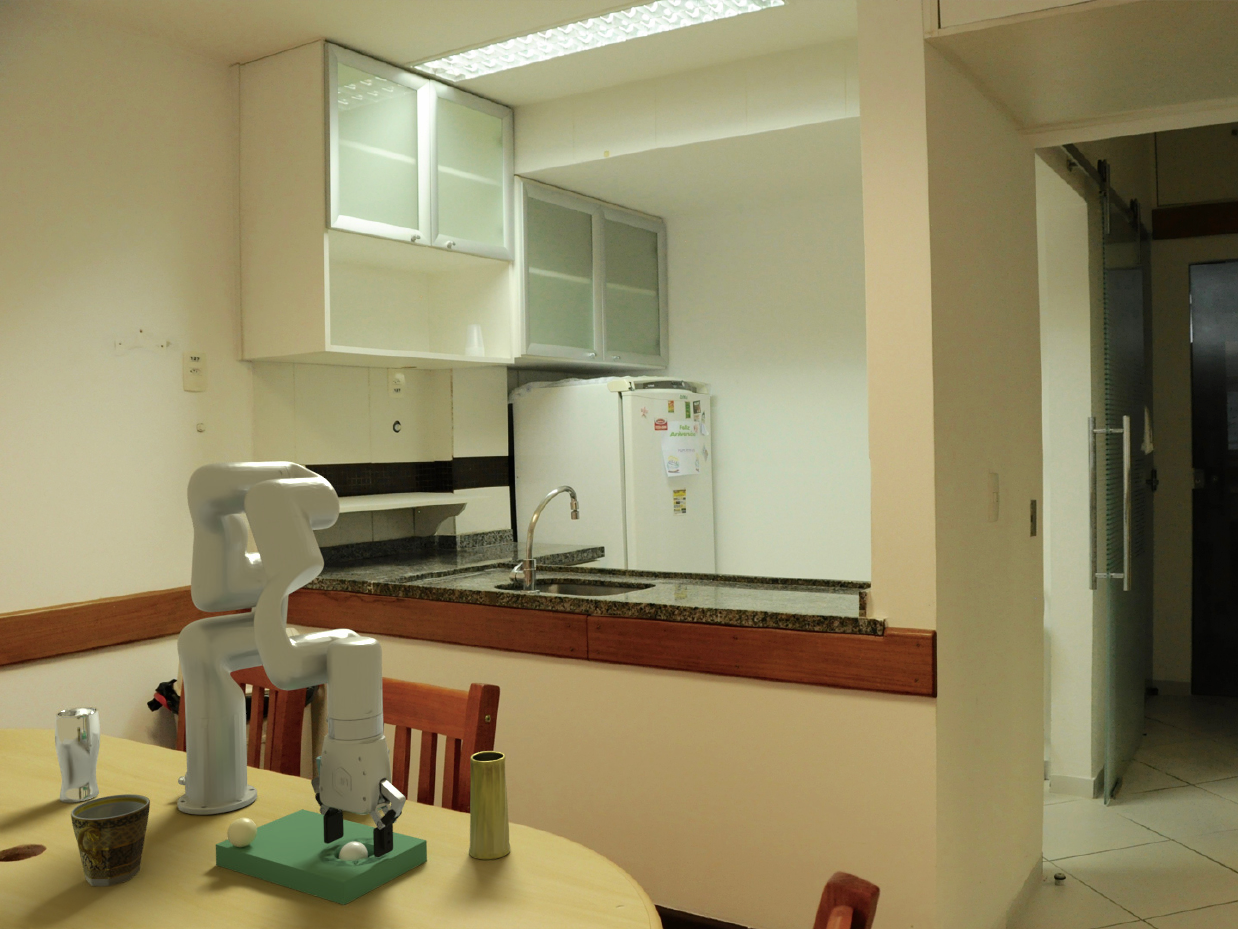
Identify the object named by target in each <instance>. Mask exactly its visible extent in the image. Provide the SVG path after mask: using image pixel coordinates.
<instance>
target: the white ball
mask: <svg viewBox="0 0 1238 929" xmlns="http://www.w3.org/2000/svg"><path fill="white" fill-rule="evenodd" d="M365 858H368V852H367V849H366V847H365V846H364V845H363V844H362V843H360V842H350V843H347V844H346V845H345V846H344V847H343V848H342V849H341V851H340V853H339V859H340V860H344V861H356V860H360V859H365Z"/></svg>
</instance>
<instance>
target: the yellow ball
mask: <svg viewBox="0 0 1238 929" xmlns="http://www.w3.org/2000/svg"><path fill="white" fill-rule="evenodd" d="M257 827H258V826H257V825H256V822H254V821H253V819H251V818H248V817H240V818H237V819H235V820H233V822H231V824H230V825H229V827H228V829H227V834H226V835H227V840H229V841H230V843H231V844H232V845H234V846H236V847H245V846H247V845H249V844H251V843H252V842H253V840H254V839H255V837H256V834H257Z"/></svg>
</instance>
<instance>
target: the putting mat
mask: <svg viewBox="0 0 1238 929" xmlns="http://www.w3.org/2000/svg"><path fill="white" fill-rule="evenodd" d="M323 816H324V815H322V814H321V813H320V812H315V811H311V810H308V809H299V810H297V811H294V812H292V813H290V814H288V815H285V816H282V817H280V818H278V819H275V820H272V821H269V822H268V823H265V824H263V825H262V824H261V825H260V826H256V827H257V834H256V837H255V839H254V840H253V842H252V843H251V844H249V845H247V846H245V847H236V846H234V845H232V844H231V843H230V841H229V840H228V839H226V840H222V841H221V842H218V843H216V844H215V866H218V867H221V868H225V869H228V870H232V871H234V872H238V873H241V874H245V875H247V876H250V877H254V878H255V879H256V878H257V879H260V880H263V881H266V882H269V883H273V884H276V885H278V886H283V887H285V888H289V889H291V890H292V889H293V890H296V891H299V892H301V893H305V894H308V895H312V896H315V897H318V898H320V899H324V900H327V901H330V902H334V903H337V904H340V905H343V906H345V905H347V904H349V903H350V902H352V901H354V900H356V899H359V898H360V897H363V895H365V894H367V893H370V892H371V891H373V890H375V889H377V888H378V887H381V886H382V885H384V884H386V883H388V882H390V881H392V880H394V879H395V878H398V877H399V876H401V875H403V874H405V873H407V872H409V871H410V870H413V869H414V868H416V867H417V866H421V865H422V864H423V863H425V862H428V853H427V852H428V851H427V849H428V847H427V843H428V841H427V840H426V839H423V838H420V837H414V836H411V835H406V834H402V833H398V832H396V831H393V850H392V851H390V852H388V853H386V854H384V855H382V856H380V857H375V856H374V843H373V830H374V828H376V827H375V826H371V825H367V824H363V823H358V822H355V821H350V820H347V819H343V827H344V836H343V837H342V838H340V839H338V840H335V841H333V842H331V843H329V844H327V843H324V821H323ZM350 842H360V843H362V844H363V845H364V846H365V847H366V849H367V852H368V858H365V859H360V860H356V861H344V860H340V859H339V853H340V851H341V849H342V848H343V847H344V846H345V845H346V844H347V843H350Z"/></svg>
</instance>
